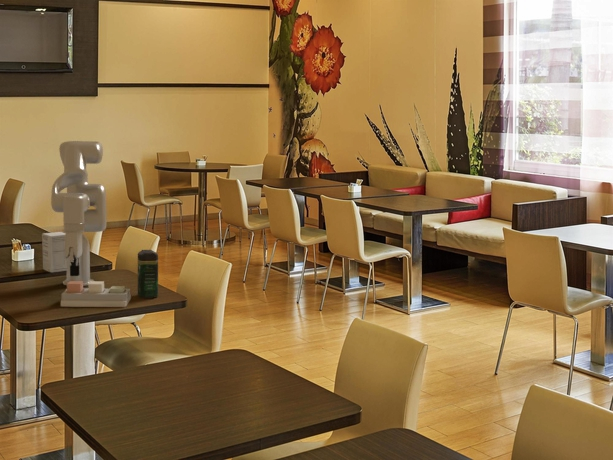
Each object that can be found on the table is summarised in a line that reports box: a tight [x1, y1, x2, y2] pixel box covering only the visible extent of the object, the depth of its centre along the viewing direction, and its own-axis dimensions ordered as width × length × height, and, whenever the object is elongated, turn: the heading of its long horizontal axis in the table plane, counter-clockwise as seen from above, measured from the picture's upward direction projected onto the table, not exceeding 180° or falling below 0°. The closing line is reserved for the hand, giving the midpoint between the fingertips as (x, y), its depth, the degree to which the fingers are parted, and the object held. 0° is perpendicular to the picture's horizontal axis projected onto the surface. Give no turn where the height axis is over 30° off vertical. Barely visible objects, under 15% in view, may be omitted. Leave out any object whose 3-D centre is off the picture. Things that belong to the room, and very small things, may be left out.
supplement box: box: [41, 231, 67, 273], centre depth 375 cm, size 10×9×17 cm
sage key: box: [110, 285, 126, 293], centre depth 316 cm, size 5×5×4 cm
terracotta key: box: [66, 281, 84, 293], centre depth 315 cm, size 5×5×4 cm
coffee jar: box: [137, 249, 159, 299], centre depth 328 cm, size 10×8×19 cm
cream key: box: [87, 280, 105, 293], centre depth 315 cm, size 5×5×4 cm
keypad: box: [60, 287, 132, 308], centre depth 316 cm, size 13×24×4 cm, turn 93°
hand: (74, 275), depth 314 cm, fingers closed
